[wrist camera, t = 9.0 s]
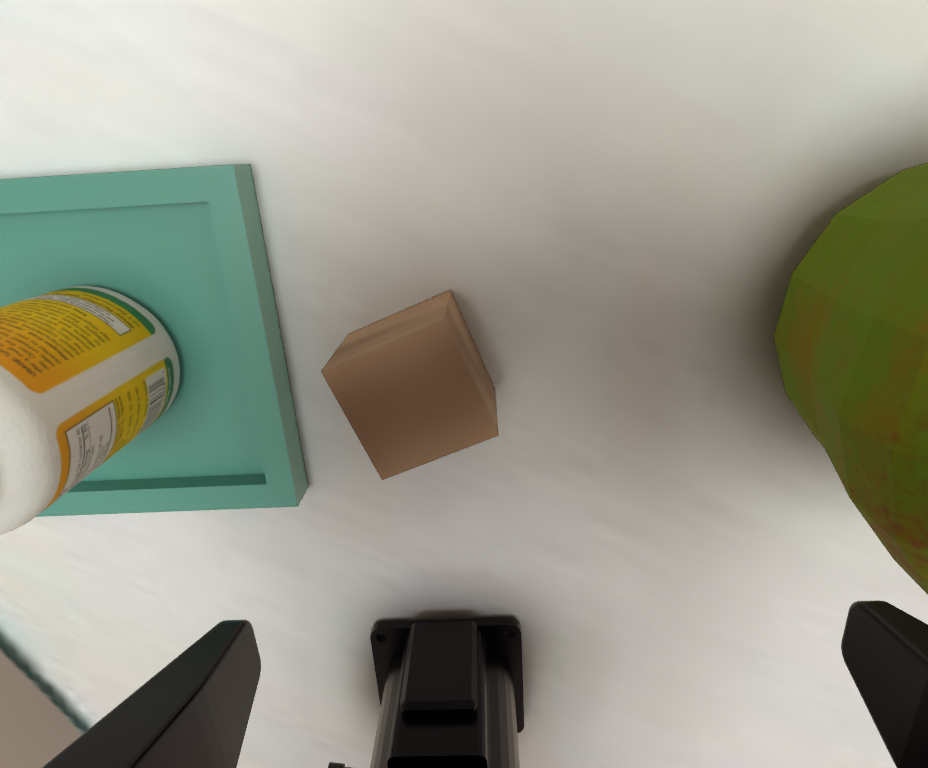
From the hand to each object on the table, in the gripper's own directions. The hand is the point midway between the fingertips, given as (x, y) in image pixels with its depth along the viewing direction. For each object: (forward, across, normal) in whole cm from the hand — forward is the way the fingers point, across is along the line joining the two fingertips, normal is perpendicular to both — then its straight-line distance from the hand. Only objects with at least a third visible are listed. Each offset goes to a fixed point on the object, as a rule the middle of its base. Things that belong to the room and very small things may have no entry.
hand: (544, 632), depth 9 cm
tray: (+13, +14, -1) cm, 19 cm away
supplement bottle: (+13, +14, -1) cm, 19 cm away
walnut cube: (+13, +3, 0) cm, 13 cm away
